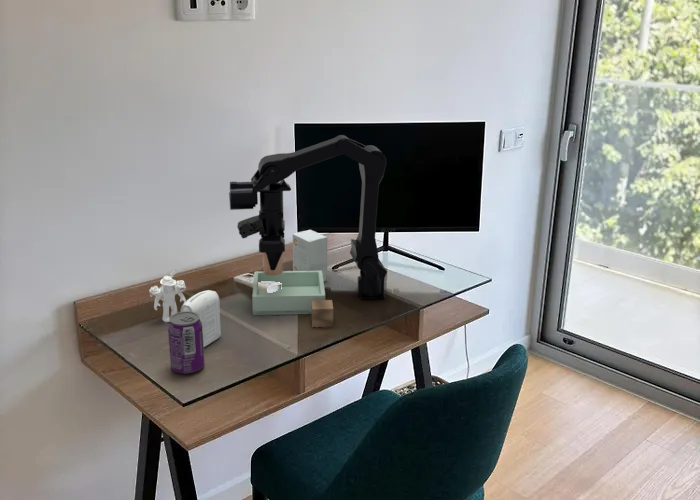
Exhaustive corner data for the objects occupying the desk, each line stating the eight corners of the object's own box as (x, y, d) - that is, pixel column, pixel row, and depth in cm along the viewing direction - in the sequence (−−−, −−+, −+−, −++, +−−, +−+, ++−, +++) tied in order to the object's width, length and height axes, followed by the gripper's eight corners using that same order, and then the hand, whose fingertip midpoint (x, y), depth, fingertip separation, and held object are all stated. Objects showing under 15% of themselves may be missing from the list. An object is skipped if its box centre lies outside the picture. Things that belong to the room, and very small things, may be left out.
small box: (327, 281, 202) (328, 236, 197) (309, 286, 198) (309, 241, 194) (310, 271, 208) (310, 228, 203) (292, 277, 204) (291, 233, 199)
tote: (321, 287, 198) (321, 270, 196) (325, 313, 183) (325, 295, 181) (255, 288, 196) (254, 271, 194) (252, 315, 181) (252, 296, 180)
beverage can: (210, 363, 159) (207, 313, 155) (193, 378, 153) (190, 327, 148) (182, 357, 161) (178, 308, 157) (164, 372, 155) (160, 321, 151)
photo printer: (209, 332, 173) (206, 284, 168) (223, 336, 171) (221, 288, 166) (180, 350, 164) (176, 300, 160) (195, 355, 162) (191, 304, 158)
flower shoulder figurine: (184, 311, 183) (181, 266, 178) (191, 316, 180) (188, 272, 175) (149, 320, 178) (145, 274, 173) (156, 326, 175) (152, 280, 170)
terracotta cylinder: (263, 268, 188) (262, 242, 186) (282, 267, 189) (282, 242, 186) (263, 275, 184) (262, 249, 181) (282, 275, 184) (282, 249, 182)
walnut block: (331, 318, 181) (331, 300, 179) (333, 327, 176) (333, 308, 174) (311, 318, 180) (311, 300, 179) (312, 328, 176) (312, 309, 174)
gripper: (240, 196, 188) (242, 253, 194) (236, 220, 171) (239, 281, 176) (284, 196, 189) (285, 252, 195) (284, 219, 172) (285, 280, 177)
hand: (273, 266), depth 186 cm, fingers closed on terracotta cylinder, 5 cm apart
